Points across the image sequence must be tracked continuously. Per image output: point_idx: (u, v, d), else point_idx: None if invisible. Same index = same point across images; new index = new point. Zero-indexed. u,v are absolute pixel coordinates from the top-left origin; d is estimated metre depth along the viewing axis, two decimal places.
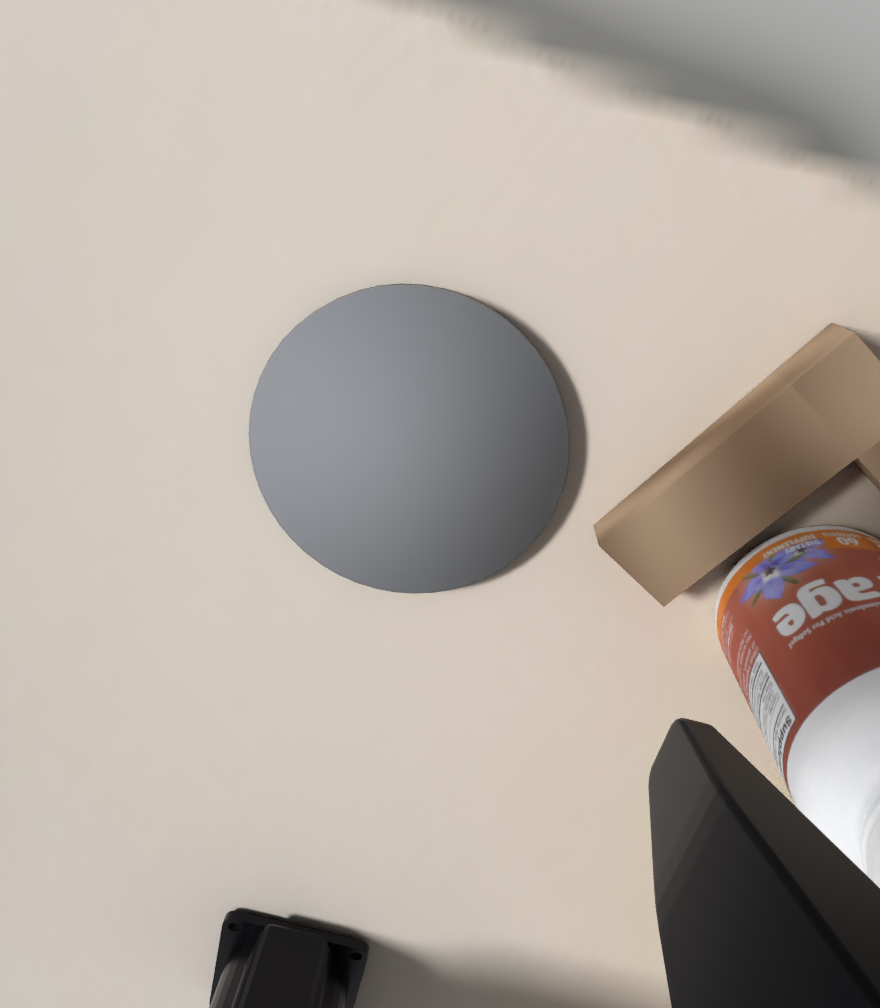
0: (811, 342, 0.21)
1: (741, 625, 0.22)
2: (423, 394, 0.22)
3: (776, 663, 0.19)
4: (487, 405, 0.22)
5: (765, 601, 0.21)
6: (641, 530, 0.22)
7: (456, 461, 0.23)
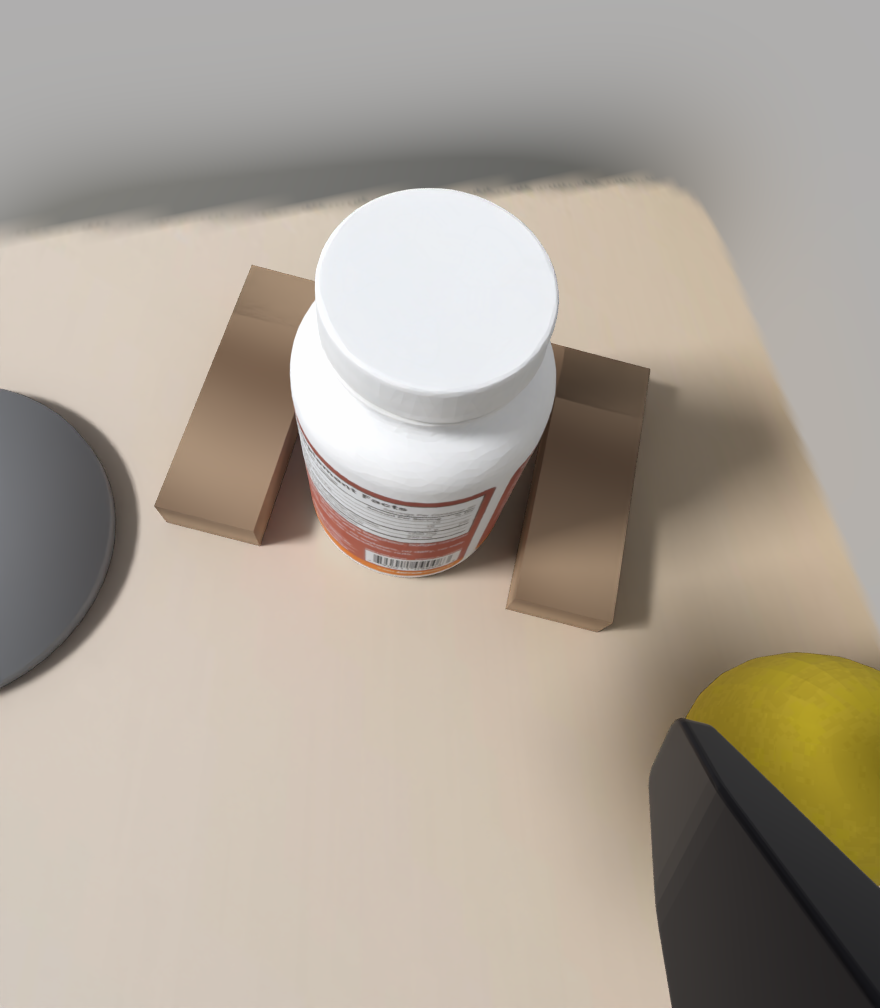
0: None
1: None
2: None
3: None
4: None
5: None
6: (185, 472, 0.22)
7: None
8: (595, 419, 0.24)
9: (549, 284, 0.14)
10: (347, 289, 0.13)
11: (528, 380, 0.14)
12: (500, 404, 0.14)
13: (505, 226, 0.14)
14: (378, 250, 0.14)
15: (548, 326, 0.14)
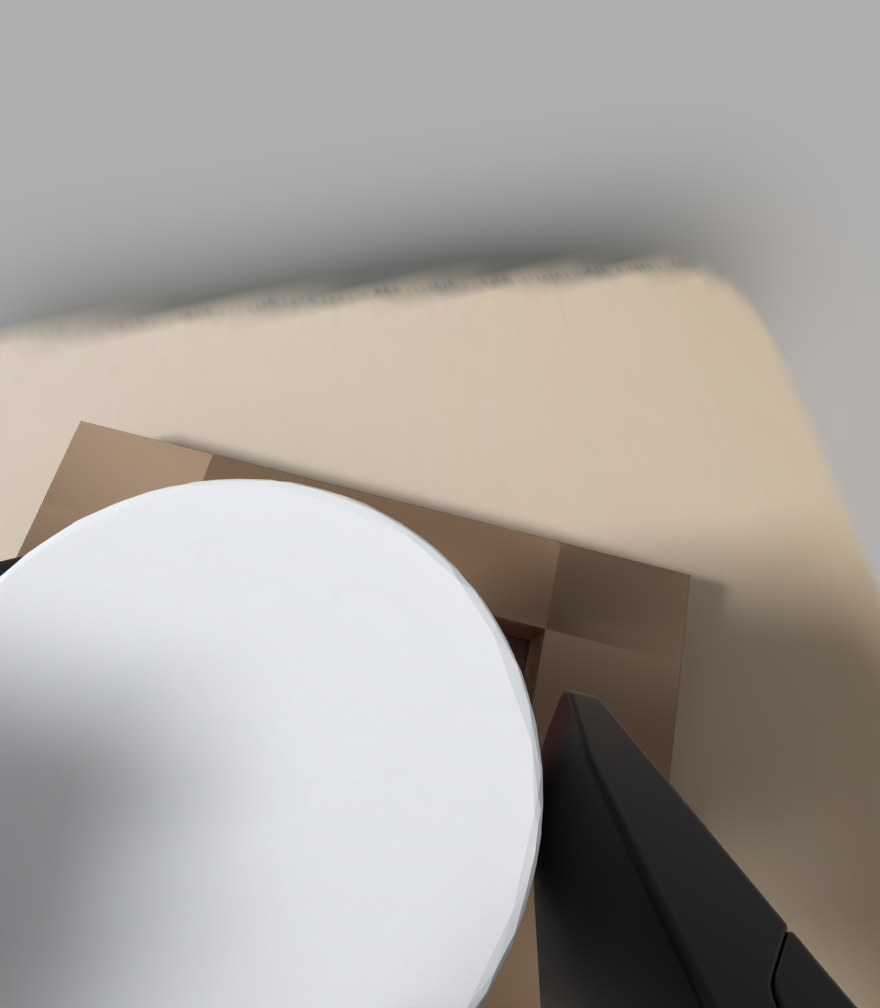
0: None
1: None
2: None
3: None
4: None
5: None
6: None
7: None
8: (607, 665, 0.15)
9: (517, 759, 0.05)
10: None
11: None
12: None
13: (410, 583, 0.06)
14: (69, 678, 0.05)
15: (514, 900, 0.05)
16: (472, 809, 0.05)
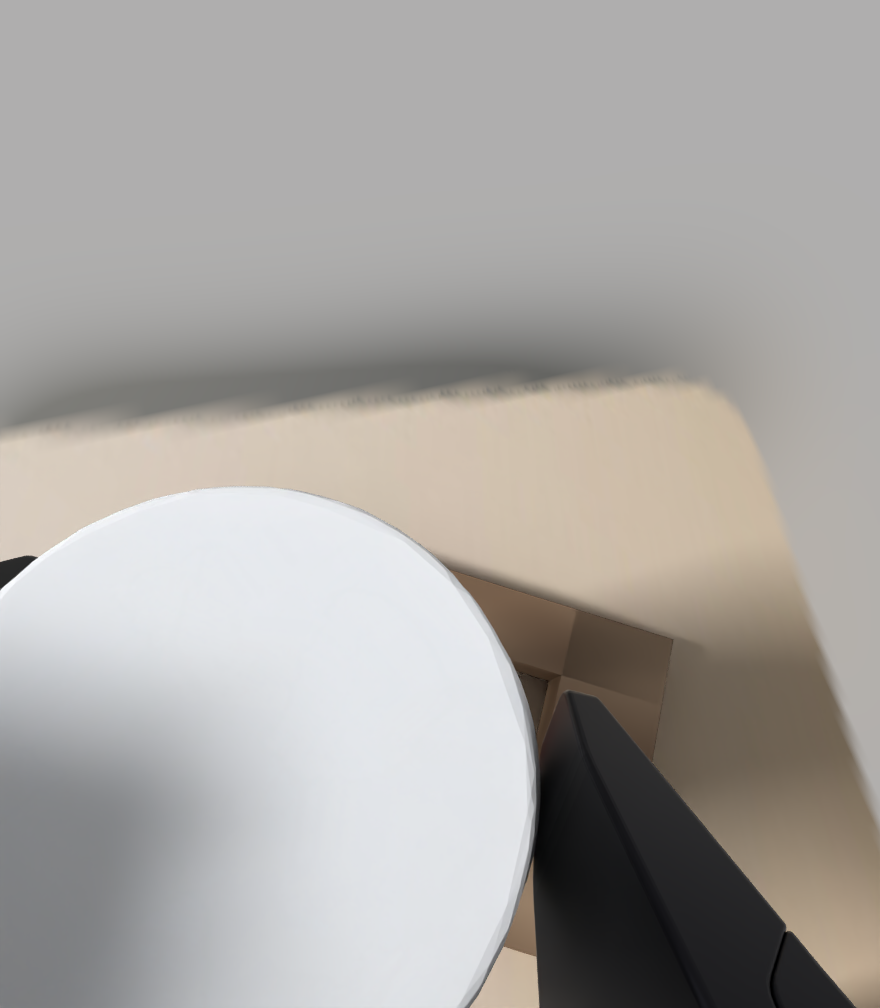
0: None
1: None
2: None
3: None
4: None
5: None
6: None
7: None
8: (606, 705, 0.21)
9: (510, 758, 0.05)
10: None
11: None
12: None
13: (406, 587, 0.06)
14: (74, 681, 0.05)
15: (508, 896, 0.05)
16: (466, 808, 0.05)
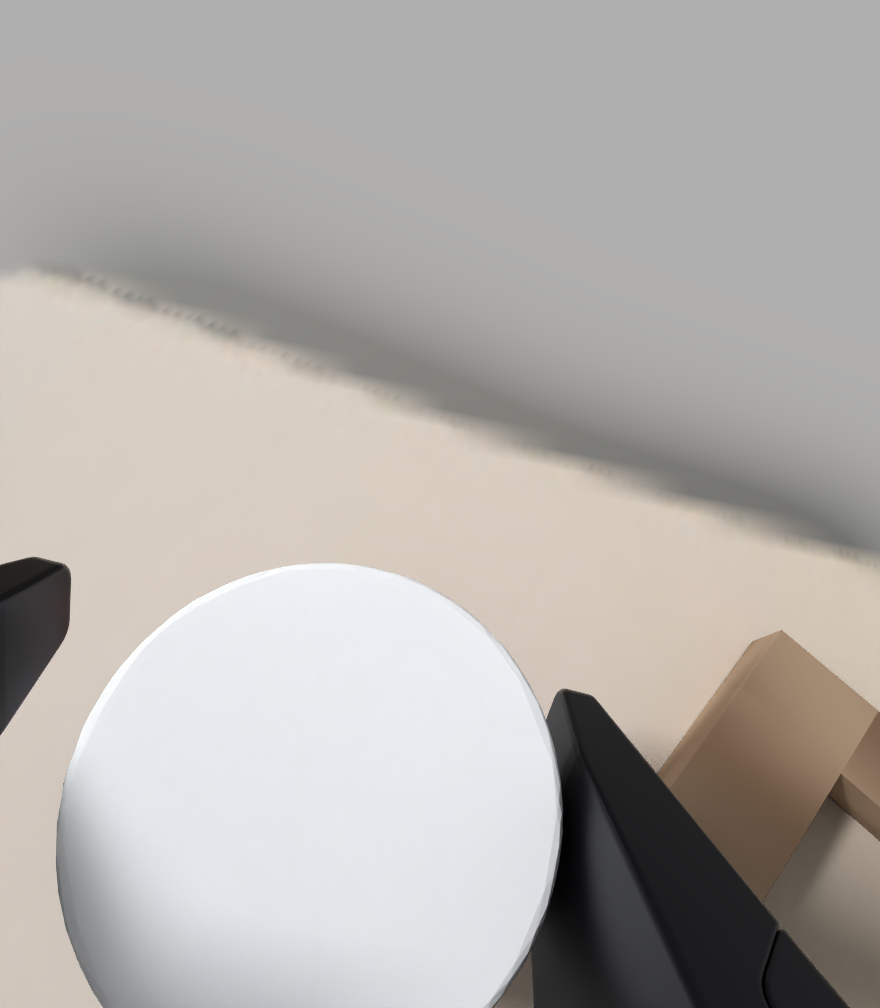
0: (741, 659, 0.20)
1: None
2: None
3: None
4: None
5: None
6: None
7: None
8: None
9: (542, 773, 0.07)
10: (124, 833, 0.06)
11: None
12: None
13: (453, 641, 0.07)
14: (199, 723, 0.07)
15: (545, 882, 0.07)
16: (510, 814, 0.07)
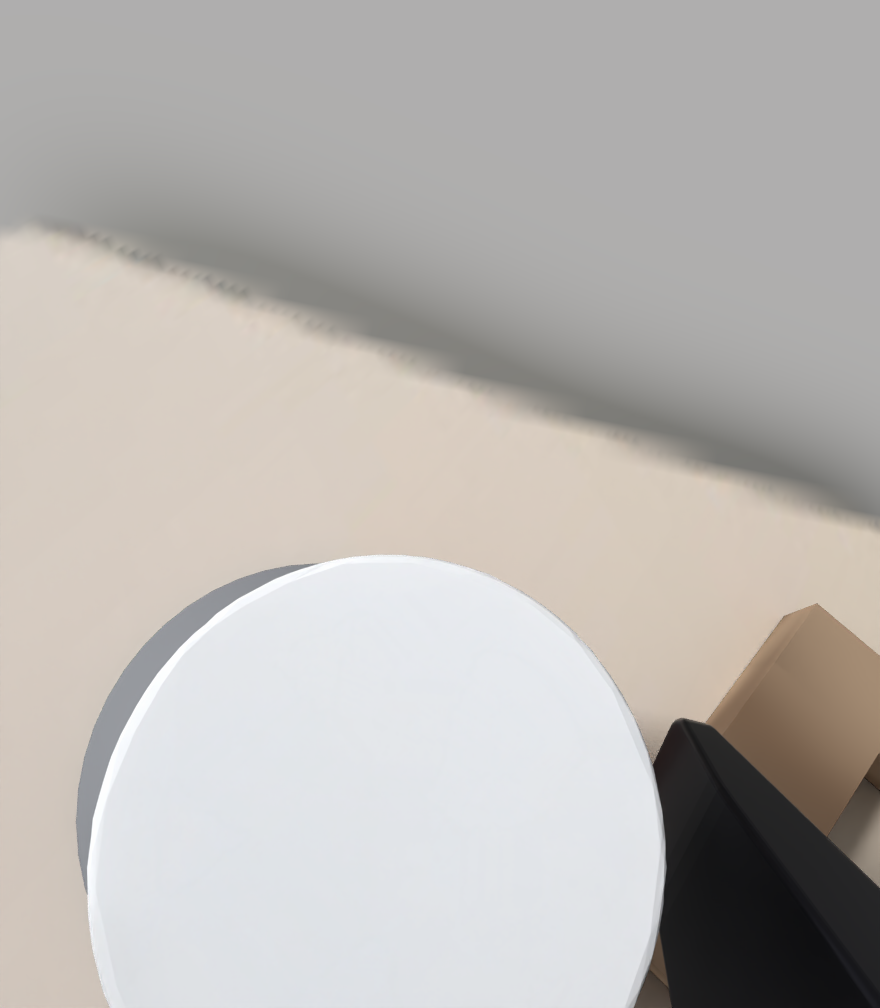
0: (772, 634, 0.19)
1: None
2: None
3: None
4: None
5: None
6: None
7: None
8: None
9: (642, 801, 0.06)
10: (167, 879, 0.05)
11: None
12: None
13: (536, 647, 0.06)
14: (249, 748, 0.06)
15: (650, 926, 0.06)
16: (608, 848, 0.06)
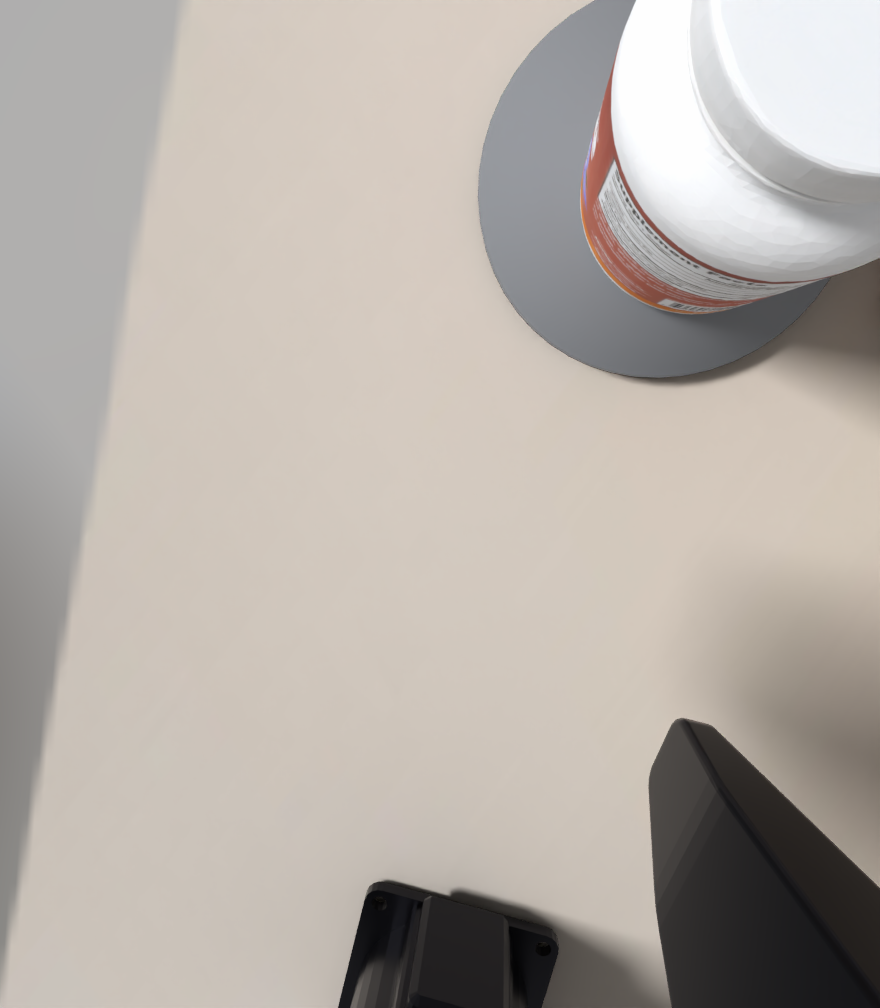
0: None
1: (592, 219, 0.17)
2: None
3: (600, 170, 0.15)
4: None
5: (587, 166, 0.17)
6: None
7: None
8: None
9: None
10: (765, 6, 0.09)
11: None
12: None
13: None
14: None
15: None
16: None
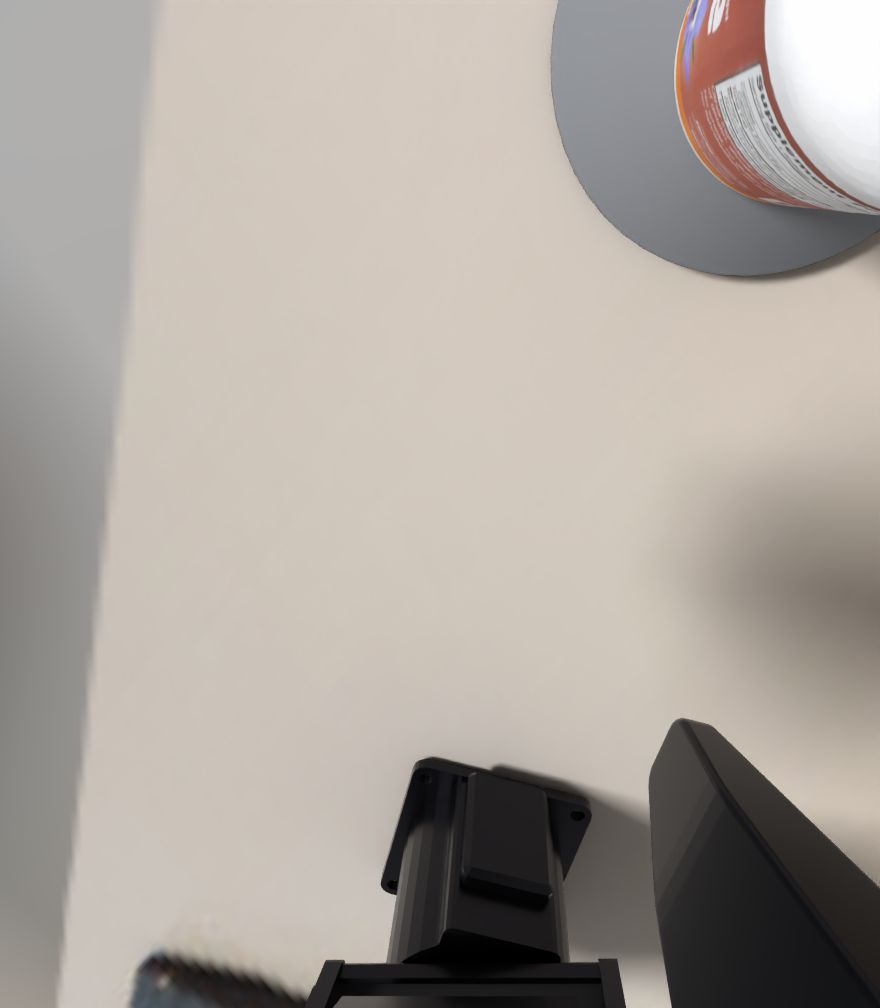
0: None
1: (697, 102, 0.15)
2: None
3: (726, 59, 0.12)
4: None
5: (698, 36, 0.14)
6: None
7: None
8: None
9: None
10: None
11: None
12: None
13: None
14: None
15: None
16: None
